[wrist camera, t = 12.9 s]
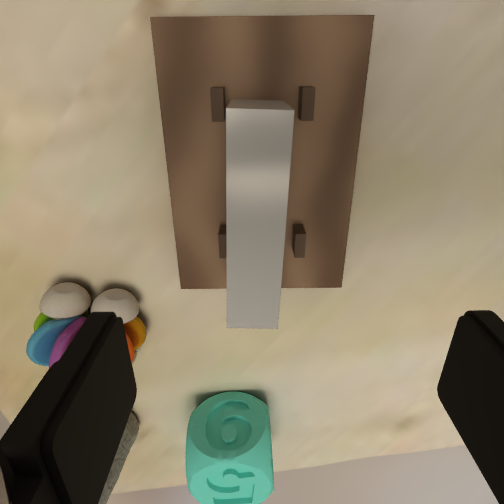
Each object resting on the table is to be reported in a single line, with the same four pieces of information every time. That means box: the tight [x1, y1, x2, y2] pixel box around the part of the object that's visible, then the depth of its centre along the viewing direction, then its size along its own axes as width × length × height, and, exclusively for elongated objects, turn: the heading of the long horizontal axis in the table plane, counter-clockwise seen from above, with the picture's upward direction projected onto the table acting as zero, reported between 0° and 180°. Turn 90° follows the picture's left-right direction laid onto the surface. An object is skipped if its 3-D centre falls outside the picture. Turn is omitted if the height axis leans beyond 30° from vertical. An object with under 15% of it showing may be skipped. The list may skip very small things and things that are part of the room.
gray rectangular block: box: [226, 99, 295, 329], centre depth 25 cm, size 4×14×7 cm, turn 178°
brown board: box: [150, 15, 374, 289], centre depth 27 cm, size 14×20×4 cm
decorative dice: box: [186, 391, 274, 504], centre depth 37 cm, size 8×8×8 cm
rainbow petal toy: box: [26, 282, 146, 368], centre depth 32 cm, size 8×10×7 cm
